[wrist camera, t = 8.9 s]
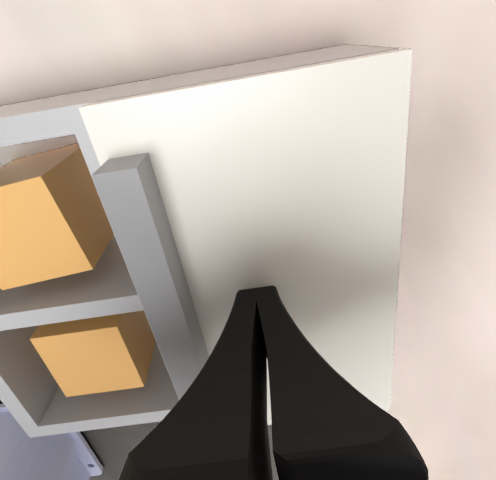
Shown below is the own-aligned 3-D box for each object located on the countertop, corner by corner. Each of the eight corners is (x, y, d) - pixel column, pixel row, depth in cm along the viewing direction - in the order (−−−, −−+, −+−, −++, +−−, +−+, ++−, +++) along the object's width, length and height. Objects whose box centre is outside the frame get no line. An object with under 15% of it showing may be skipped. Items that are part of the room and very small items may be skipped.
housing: (351, 315, 22) (383, 393, 17) (73, 353, 23) (29, 437, 18) (346, 44, 15) (399, 47, 10) (-61, 116, 16) (-193, 152, 11)
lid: (385, 398, 17) (402, 439, 15) (201, 421, 18) (197, 463, 16) (403, 48, 10) (439, 50, 8) (86, 104, 10) (55, 117, 9)
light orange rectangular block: (126, 214, 19) (93, 269, 14) (55, 231, 19) (2, 290, 15) (91, 139, 17) (40, 176, 12) (13, 160, 17) (-63, 203, 13)
